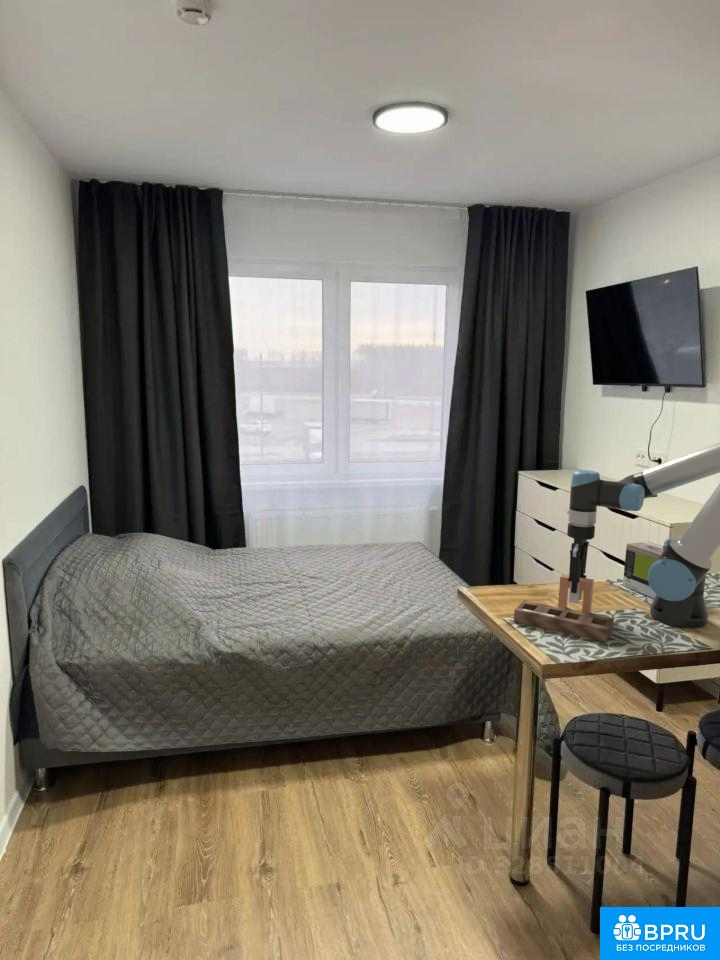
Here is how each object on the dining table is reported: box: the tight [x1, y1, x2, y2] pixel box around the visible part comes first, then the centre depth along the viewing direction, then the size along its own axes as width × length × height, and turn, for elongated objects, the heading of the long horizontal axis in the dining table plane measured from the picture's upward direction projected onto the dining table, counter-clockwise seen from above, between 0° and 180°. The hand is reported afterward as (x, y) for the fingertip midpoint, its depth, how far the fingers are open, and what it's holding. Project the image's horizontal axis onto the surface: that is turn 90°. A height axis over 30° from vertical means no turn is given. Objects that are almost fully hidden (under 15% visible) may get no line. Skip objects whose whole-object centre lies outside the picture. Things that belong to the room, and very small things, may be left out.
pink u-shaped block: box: [557, 573, 595, 614], centre depth 196 cm, size 9×3×10 cm, turn 59°
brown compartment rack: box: [513, 600, 615, 643], centre depth 184 cm, size 25×9×4 cm, turn 59°
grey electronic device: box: [622, 541, 664, 599], centre depth 213 cm, size 15×10×15 cm
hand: (575, 600), depth 196 cm, fingers closed on pink u-shaped block, 3 cm apart
